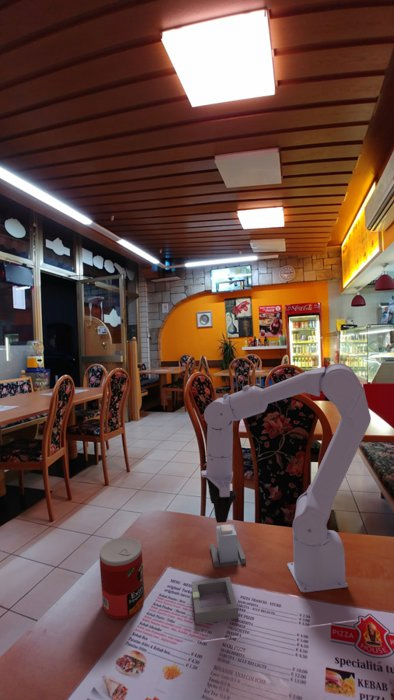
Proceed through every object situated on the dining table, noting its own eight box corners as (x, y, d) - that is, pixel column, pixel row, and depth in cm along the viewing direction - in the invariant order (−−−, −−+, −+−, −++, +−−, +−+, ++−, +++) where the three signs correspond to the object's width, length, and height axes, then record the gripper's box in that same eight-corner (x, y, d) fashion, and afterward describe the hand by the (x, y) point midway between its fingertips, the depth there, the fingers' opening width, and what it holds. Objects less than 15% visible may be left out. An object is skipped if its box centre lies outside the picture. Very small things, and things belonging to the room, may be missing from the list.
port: (230, 587, 68) (229, 575, 68) (238, 619, 60) (237, 606, 60) (191, 592, 67) (191, 580, 67) (195, 625, 59) (194, 611, 59)
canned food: (136, 623, 60) (132, 564, 60) (95, 618, 62) (91, 560, 61) (150, 591, 68) (147, 538, 67) (113, 586, 70) (110, 535, 69)
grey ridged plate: (239, 546, 81) (239, 540, 80) (245, 564, 74) (245, 558, 74) (210, 549, 80) (210, 543, 80) (214, 568, 74) (214, 562, 73)
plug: (234, 549, 79) (233, 521, 79) (238, 560, 75) (236, 531, 75) (217, 551, 79) (216, 523, 78) (220, 562, 75) (218, 533, 74)
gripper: (198, 441, 82) (197, 495, 83) (205, 467, 67) (204, 532, 69) (227, 441, 83) (225, 494, 84) (240, 466, 68) (238, 530, 69)
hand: (218, 511), depth 76 cm, fingers open, 7 cm apart
